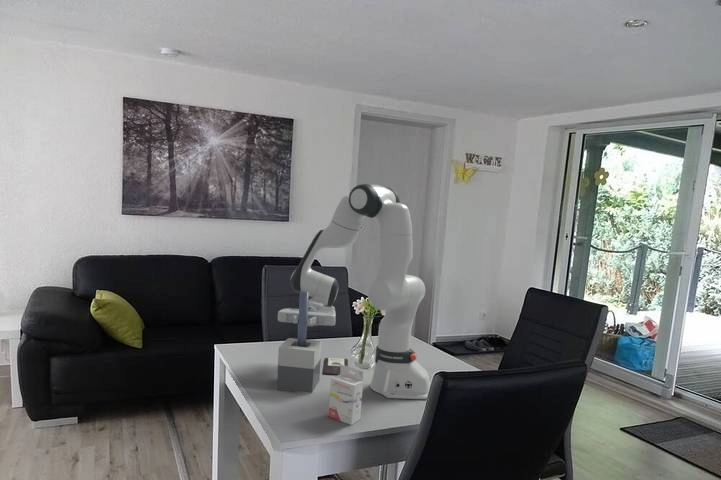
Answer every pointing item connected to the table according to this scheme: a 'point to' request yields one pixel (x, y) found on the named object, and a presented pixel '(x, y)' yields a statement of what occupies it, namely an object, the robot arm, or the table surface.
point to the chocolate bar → (333, 366)
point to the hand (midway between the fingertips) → (302, 321)
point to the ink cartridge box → (346, 395)
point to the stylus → (303, 318)
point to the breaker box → (299, 366)
